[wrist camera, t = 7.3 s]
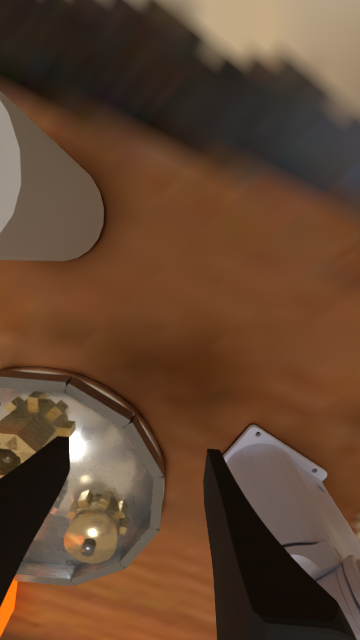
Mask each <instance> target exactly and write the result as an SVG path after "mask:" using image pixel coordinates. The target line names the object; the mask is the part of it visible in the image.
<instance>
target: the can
mask: <svg viewBox="0 0 360 640" xmlns="http://www.w3.org/2000/svg"><path fill="white" fill-rule="evenodd" d="M103 221H104V206H103V202H102V198H101V194H100V191H99V189H98V187H97V186H96V184H95V182H94V181H93V179H92V177H91V176H90V175H89V174H88V173H87V172H86V171H85V170H84V169H83V168H82V167H81V166H80V165H79V164H77V163H76V162H75V161H74V160H73V159H72V158H71V157H70V156H69V155H68V154H67V153H66V152H65V151H64V150H62V149H61V148H60V147H59V146H58V145H57V144H56V143H55V142H54V141H53V140H52V139H51V138H50V137H49V136H48V135H46V134H45V133H44V132H43V131H42V130H41V129H40V128H39V127H38V126H37V125H36V124H35V123H34V122H33V121H31V120H30V119H29V118H28V117H27V116H26V115H25V114H24V113H23V112H22V111H21V110H20V109H19V108H18V107H17V106H15V105H14V104H13V103H12V102H11V101H10V100H9V99H8V98H7V97H6V96H5V95H4V94H3V93H2V92H0V260H29V261H67V260H71V259H76V258H78V257H80V256H81V255H83V254H84V253H86V252H88V251H89V250H90V249H91V248H92V246H93V245H94V244H95V242H96V241H97V240H98V238H99V235H100V232H101V230H102V227H103Z"/></svg>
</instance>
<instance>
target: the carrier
mask: <svg viewBox="0 0 360 640" xmlns="http://www.w3.org/2000/svg"><path fill="white" fill-rule="evenodd" d="M34 391H40V392H44V393H45V399H51V400H52V401H53V402H55V403H58V402H59V401H60V400H62V401H63V402H64V403H65V404H66V405H68V407H67V409H66V410H65V411H64V412H65V413H66V414H67V415H68V421H75V431H74V433H73V434H72V436H71V437H69V440H70V472H69V474H68V476H67V479H66V481H65V483H64V486H63V488H62V490H61V492H60V494H59V496H58V497H57V499H56V501H55V503H54V505H53V506H52V508H51V510H50V512H49V513H48V515H47V517H46V519H45V520H44V522H43V524H42V526H41V527H40V529H39V531H38V533H37V534H36V536H35V538H34V540H33V541H32V543H31V545H30V547H29V549H28V551H27V552H26V554H25V556H24V558H23V560H22V562H21V565H20V567H19V569H18V571H17V573H16V575H15V577H14V579H15V581H22V582H33V583H44V584H56V585H67V586H72V584H73V585H74V586H75V585H78V584H81V583H84V582H87V581H90V580H93V579H96V578H99V577H102V576H105V575H108V574H111V573H114V572H117V571H120V570H123V569H125V568H127V567H128V566H129V565H130V563H131V562H132V561H133V560H134V559H135V558H136V557H137V556H138V554H139V553H140V552H141V551H142V550H143V549H144V548H145V547H146V545H147V544H148V543H149V542H150V541H151V540H152V539H153V538H154V536H155V535H156V534H157V533H158V532H159V529H160V524H161V513H162V503H163V497H164V489H165V465H164V461H163V457H162V453H161V450H160V447H159V444H158V442H157V440H156V438H155V436H154V434H153V432H152V431H151V429H150V428H149V426H148V425H147V423H146V422H145V420H144V419H143V418H142V417H141V416H140V414H139V413H138V412H137V411H136V410H135V409H134V408H133V407H132V406H131V405H130V404H129V403H128V402H127V401H125V400H124V399H123V398H122V397H121V396H119V395H118V394H116V393H115V392H113V391H112V390H111V389H109V388H107V387H106V386H104V385H102V384H100V383H98V382H96V381H94V380H92V379H90V378H87V377H84V376H82V375H79V374H76V373H73V372H69V371H65V370H62V369H55V368H48V367H18V368H10V369H6V370H0V420H2V419H3V418H4V417H5V416H6V415H8V414H10V413H9V412H8V411H7V410H6V409H5V408H4V407H5V406H7V405H8V404H9V403H10V402H11V401H12V400H14V399H15V398H16V397H17V396H19V397H20V398H22V399H23V400H24V401H25V400H26V399H27V397H28V396H29V395H30V394H32V393H33V392H34ZM13 453H14V452H13ZM14 454H15V453H14ZM15 455H16V454H15Z"/></svg>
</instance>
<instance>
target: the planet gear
mask: <svg viewBox="0 0 360 640" xmlns="http://www.w3.org/2000/svg"><path fill="white" fill-rule="evenodd" d="M67 407H68V405H66V404H65V403H64V402H63V401H62V400H60V401H59V402H58V403H55V402H53V401H52V400H51V399H45V393H44V392H40V391H34V392H33V393H32V394H30V395H29V396H28V397H27V399H26V400H25V401H24V400H23V399H22V398H20V397H19V396H17V397H16V398H15V399H14V400H12V401H11V402H10V403H9V404H8V405H7V406H5V407H4V408H5V409H6V410H7V411H8V412H9V413H10V414H8V415H6V416H5V417H4V418H3V419H2V420H0V478H2V477H3V476H5V475H6V474H7V473H9V472H10V471H12V470H13V469H15V468H16V467H17V466H19V465H20V464H21V463H23V462H24V461H25V460H27V459H28V458H29V457H31V456H32V455H33V454H35V453H36V452H37V451H39V450H40V449H41V448H43V447H44V446H45V445H46V444H48V443H49V442H50V441H52V440H53V439H54V438H56V437H57V436H65V437H71V436H72V434H73V433H74V431H75V421H68V415H67V414H66V413H65V412H64V411H65V410H66V409H67ZM13 452H14V453H15V454H16V455H15V454H14V453H13Z"/></svg>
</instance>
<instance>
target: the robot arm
mask: <svg viewBox="0 0 360 640" xmlns="http://www.w3.org/2000/svg"><path fill="white" fill-rule="evenodd" d="M257 432H259V433H258V434H256V433H257ZM314 468H315V469H314ZM69 472H70V440H69V437H65V436H57V437H56V438H54V439H53V440H52V441H50V442H49V443H48V444H46V445H45V446H44V447H43V448H41V449H40V450H39V451H37V452H36V453H35V454H33V455H32V456H31V457H29V458H28V459H27V460H25V461H24V462H23V463H21V464H20V465H19V466H17V467H16V468H15V469H13V470H12V471H10V472H9V473H7V474H6V475H5V476H3V477H2V478H0V607H1V605H2V603H3V601H4V599H5V596H6V594H7V592H8V590H9V588H10V586H11V583H12V581H13V579H14V577H15V575H16V573H17V571H18V569H19V567H20V565H21V562H22V560H23V558H24V556H25V554H26V552H27V551H28V549H29V547H30V545H31V543H32V541H33V540H34V538H35V536H36V534H37V533H38V531H39V529H40V527H41V526H42V524H43V522H44V520H45V519H46V517H47V515H48V513H49V512H50V510H51V508H52V506H53V505H54V503H55V501H56V499H57V497H58V496H59V494H60V492H61V490H62V488H63V486H64V483H65V481H66V479H67V476H68V474H69ZM326 477H327V472H326V471H325V470H324V469H323V468H321V467H320V466H318V465H317V464H315V463H314V462H312V461H310V460H309V459H307V458H306V457H304V456H303V455H301V454H300V453H298V452H297V451H295V450H293V449H292V448H290V447H289V446H287V445H286V444H284V443H283V442H281V441H280V440H278V439H277V438H275V437H273V436H272V435H270V434H269V433H267V432H266V431H264V430H263V429H261V428H260V427H258V426H256V425H250V426H249V427H248V428H247V429H246V430H245V431H244V433H243V434H242V435H241V436H240V437H239V438H238V439H237V441H236V442H235V443H234V444H233V445H232V446H231V447H230V448H229V450H228V451H227V452H226V453H225V454H224V455H222V453H221V451H220V450H216V449H207V457H206V465H205V473H204V481H203V482H204V505H205V512H206V520H207V527H208V535H209V542H210V549H211V557H212V565H213V576H214V592H215V608H216V626H217V640H360V542H359V540H358V539H357V537H356V536H355V534H354V532H353V531H352V529H351V528H350V526H349V524H348V523H347V521H346V520H345V518H344V516H343V515H342V513H341V512H340V510H339V508H338V507H337V505H336V504H335V502H334V501H333V499H332V497H331V496H330V494H329V493H328V491H327V489H326V488H325V486H324V485H323V483H322V481H323V480H324V479H325V478H326Z"/></svg>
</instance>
